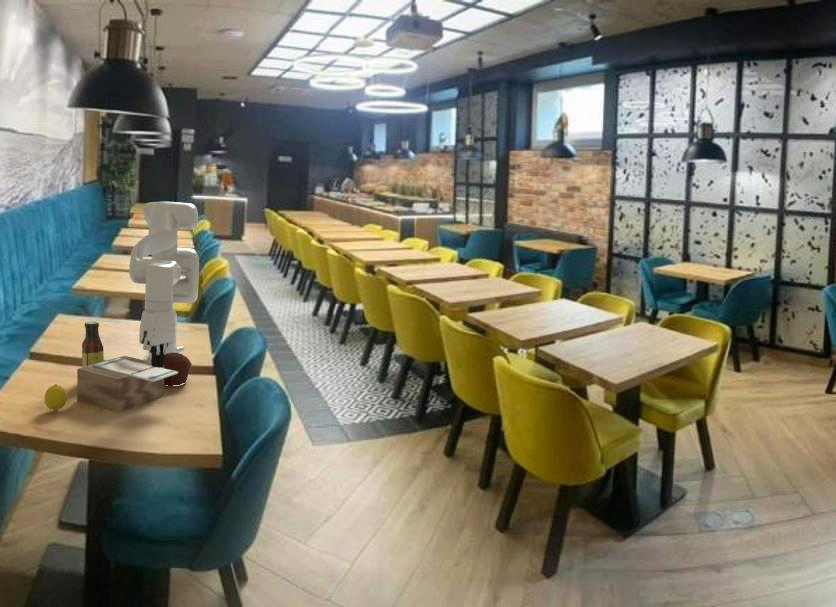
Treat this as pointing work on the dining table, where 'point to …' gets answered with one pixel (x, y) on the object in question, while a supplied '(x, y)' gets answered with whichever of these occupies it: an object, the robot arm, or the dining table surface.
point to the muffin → (176, 368)
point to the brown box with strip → (117, 384)
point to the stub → (155, 374)
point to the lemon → (55, 397)
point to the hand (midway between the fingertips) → (157, 366)
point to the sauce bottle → (92, 345)
